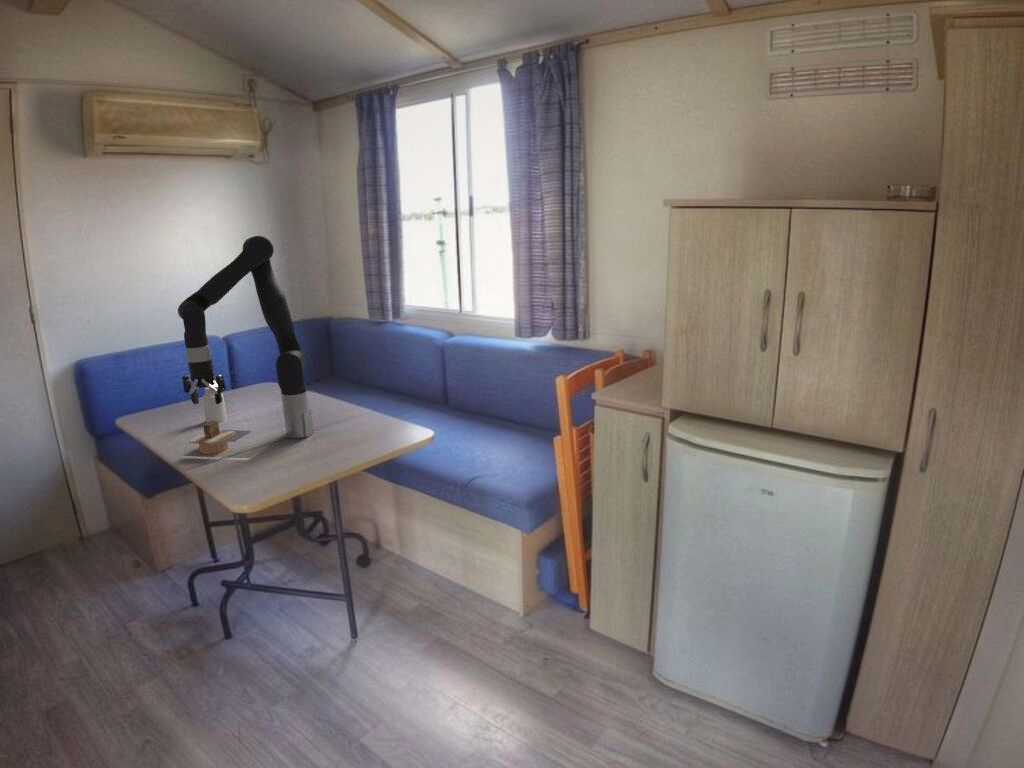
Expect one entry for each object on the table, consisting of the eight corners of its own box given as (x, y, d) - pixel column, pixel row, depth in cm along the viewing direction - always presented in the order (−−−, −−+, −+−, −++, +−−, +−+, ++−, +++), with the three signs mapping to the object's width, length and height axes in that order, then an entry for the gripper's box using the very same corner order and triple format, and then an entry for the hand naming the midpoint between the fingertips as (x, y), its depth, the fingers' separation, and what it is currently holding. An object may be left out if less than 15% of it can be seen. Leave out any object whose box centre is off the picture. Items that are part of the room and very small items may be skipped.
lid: (235, 433, 225) (233, 418, 223) (218, 444, 214) (215, 428, 213) (207, 432, 226) (205, 417, 225) (189, 443, 216) (186, 427, 214)
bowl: (233, 447, 225) (231, 434, 224) (219, 456, 217) (217, 443, 215) (210, 446, 227) (208, 433, 225) (195, 455, 218) (193, 442, 217)
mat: (252, 432, 240) (252, 430, 240) (235, 443, 229) (234, 441, 229) (223, 431, 242) (223, 430, 242) (205, 442, 230) (205, 440, 230)
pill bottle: (219, 418, 259) (214, 384, 255) (231, 421, 255) (226, 386, 251) (202, 423, 252) (196, 388, 249) (214, 426, 248) (208, 391, 245)
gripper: (224, 356, 215) (232, 400, 219) (187, 356, 217) (195, 400, 221) (212, 361, 208) (220, 406, 212) (173, 361, 210) (182, 406, 214)
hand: (207, 403), depth 217 cm, fingers open, 8 cm apart
